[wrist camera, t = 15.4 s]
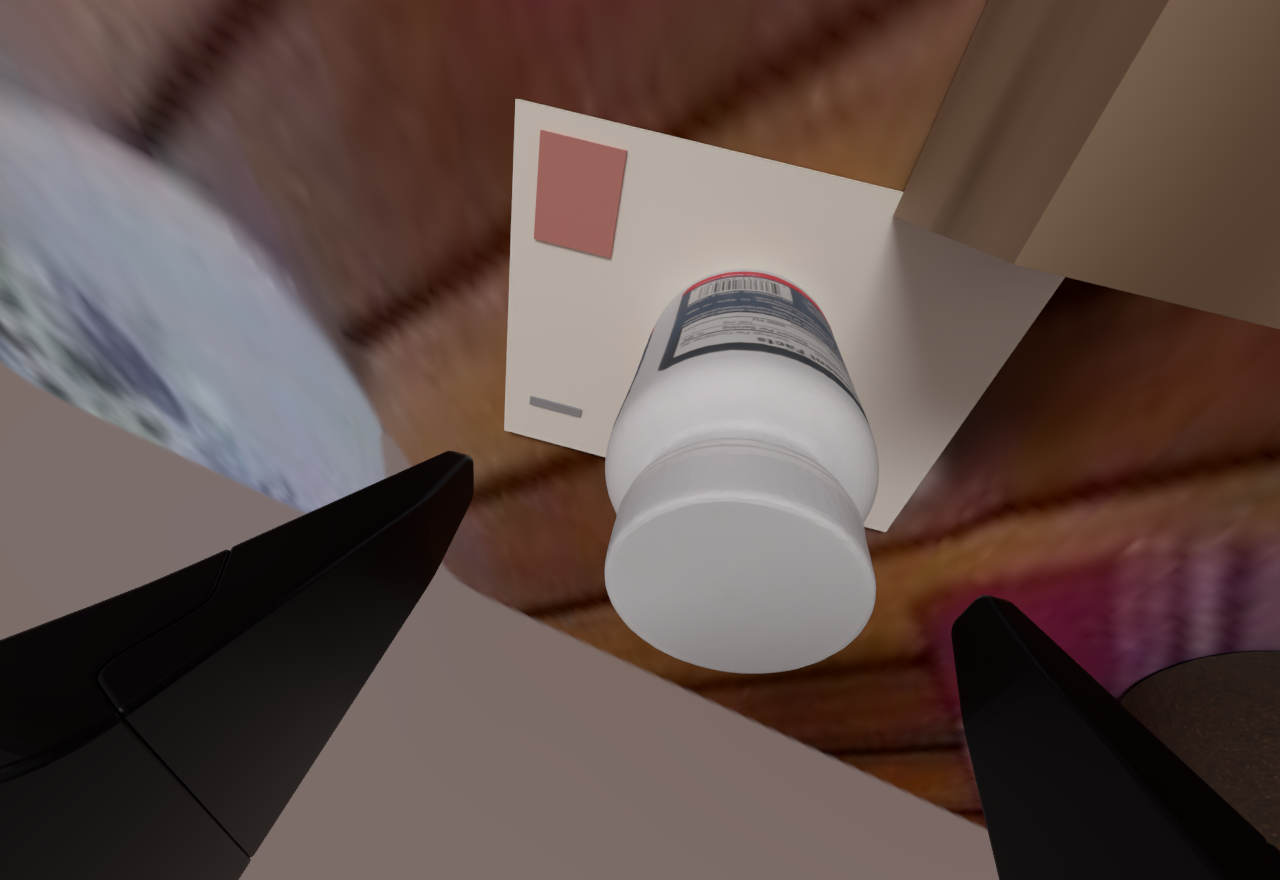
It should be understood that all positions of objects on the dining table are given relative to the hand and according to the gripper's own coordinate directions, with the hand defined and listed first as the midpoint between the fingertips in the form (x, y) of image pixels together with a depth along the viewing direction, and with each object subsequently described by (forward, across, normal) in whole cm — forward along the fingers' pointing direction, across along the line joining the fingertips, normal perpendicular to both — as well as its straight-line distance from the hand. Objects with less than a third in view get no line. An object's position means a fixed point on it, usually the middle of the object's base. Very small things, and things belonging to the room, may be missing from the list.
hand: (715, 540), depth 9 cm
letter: (+8, 0, 0) cm, 8 cm away
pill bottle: (+8, 0, 0) cm, 8 cm away
